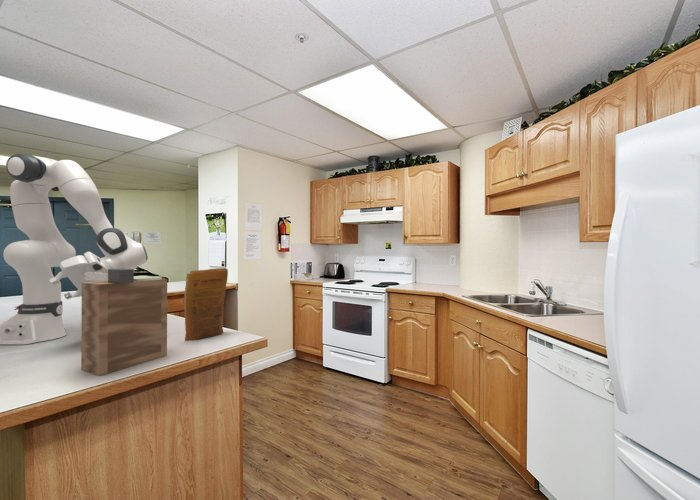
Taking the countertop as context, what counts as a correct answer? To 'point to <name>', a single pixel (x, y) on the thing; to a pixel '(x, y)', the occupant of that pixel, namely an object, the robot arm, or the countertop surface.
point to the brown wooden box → (123, 324)
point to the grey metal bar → (112, 276)
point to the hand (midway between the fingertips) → (58, 290)
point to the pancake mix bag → (204, 303)
